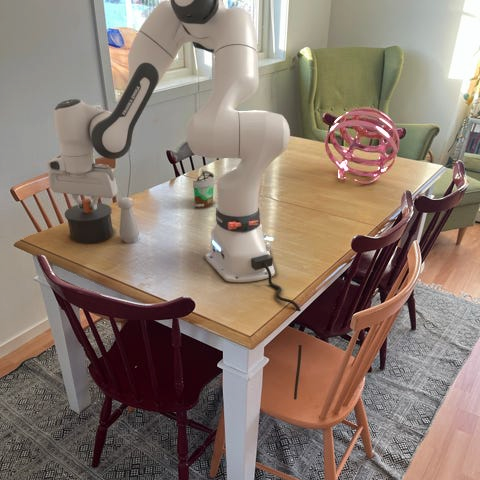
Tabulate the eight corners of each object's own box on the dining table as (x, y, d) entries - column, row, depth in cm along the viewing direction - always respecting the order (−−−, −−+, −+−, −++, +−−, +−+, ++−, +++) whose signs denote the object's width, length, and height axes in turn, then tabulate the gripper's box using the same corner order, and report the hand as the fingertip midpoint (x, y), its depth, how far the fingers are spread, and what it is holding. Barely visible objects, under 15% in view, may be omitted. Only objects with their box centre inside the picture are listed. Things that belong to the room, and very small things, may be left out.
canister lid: (113, 221, 141) (111, 206, 138) (64, 226, 138) (61, 211, 135) (110, 204, 152) (108, 190, 149) (65, 208, 149) (62, 194, 146)
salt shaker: (130, 245, 142) (125, 204, 135) (116, 241, 145) (110, 200, 137) (143, 238, 146) (139, 197, 139) (129, 234, 149) (124, 194, 141)
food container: (211, 211, 164) (210, 183, 158) (194, 210, 165) (192, 181, 159) (219, 198, 174) (219, 171, 168) (203, 197, 175) (202, 169, 169)
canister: (114, 240, 145) (111, 219, 141) (71, 245, 142) (66, 223, 138) (111, 224, 155) (108, 203, 151) (71, 228, 152) (67, 207, 148)
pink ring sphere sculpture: (374, 145, 161) (398, 86, 169) (303, 151, 178) (327, 96, 186) (395, 198, 182) (415, 143, 190) (330, 199, 199) (351, 148, 207)
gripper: (117, 162, 136) (124, 208, 144) (53, 156, 140) (63, 201, 148) (107, 168, 131) (114, 216, 139) (41, 162, 135) (52, 209, 143)
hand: (87, 208), depth 144 cm, fingers closed on canister lid, 2 cm apart
